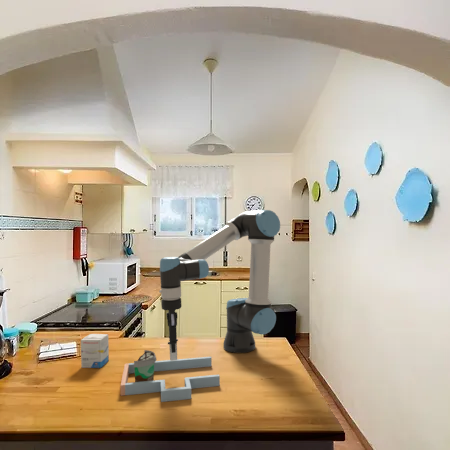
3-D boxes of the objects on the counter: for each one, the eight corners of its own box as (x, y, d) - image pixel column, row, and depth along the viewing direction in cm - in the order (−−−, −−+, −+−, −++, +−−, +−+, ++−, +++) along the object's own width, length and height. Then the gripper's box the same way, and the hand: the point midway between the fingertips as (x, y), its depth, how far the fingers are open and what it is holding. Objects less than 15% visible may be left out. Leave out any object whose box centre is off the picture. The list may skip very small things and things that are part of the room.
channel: (211, 364, 150) (210, 356, 150) (223, 395, 123) (223, 385, 123) (125, 372, 143) (125, 363, 143) (118, 406, 117) (118, 395, 117)
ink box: (109, 360, 157) (109, 333, 157) (100, 368, 148) (100, 339, 148) (90, 360, 157) (90, 333, 157) (80, 367, 149) (80, 339, 149)
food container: (150, 390, 128) (150, 362, 128) (133, 389, 128) (133, 361, 128) (160, 375, 140) (160, 350, 140) (145, 375, 141) (144, 349, 141)
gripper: (160, 295, 143) (163, 354, 143) (161, 302, 130) (164, 367, 130) (179, 293, 144) (182, 352, 145) (182, 301, 132) (185, 365, 132)
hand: (173, 359), depth 138 cm, fingers closed
